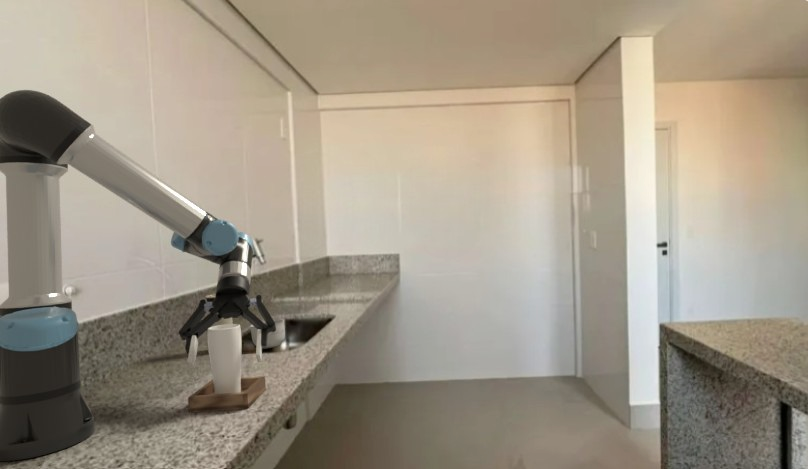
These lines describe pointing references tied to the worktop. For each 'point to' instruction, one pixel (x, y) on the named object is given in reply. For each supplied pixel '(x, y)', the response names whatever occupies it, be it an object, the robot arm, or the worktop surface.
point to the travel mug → (222, 321)
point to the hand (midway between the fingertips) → (225, 362)
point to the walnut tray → (227, 396)
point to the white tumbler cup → (225, 357)
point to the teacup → (271, 335)
